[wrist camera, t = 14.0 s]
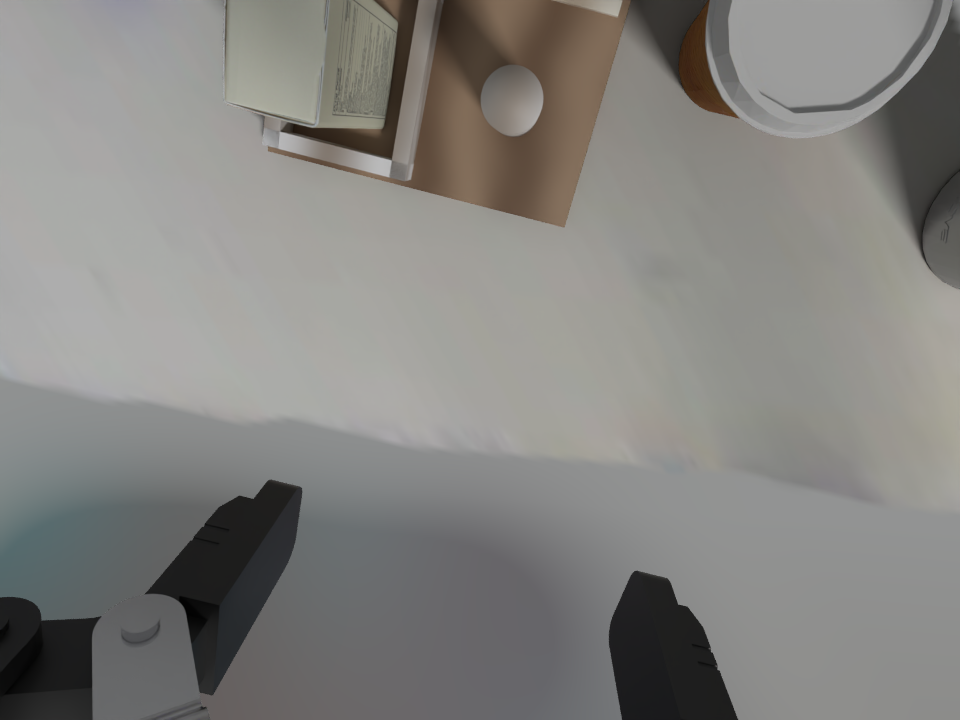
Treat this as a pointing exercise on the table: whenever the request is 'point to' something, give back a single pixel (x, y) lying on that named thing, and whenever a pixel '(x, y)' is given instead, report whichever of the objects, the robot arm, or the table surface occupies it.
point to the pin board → (461, 115)
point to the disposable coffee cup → (806, 59)
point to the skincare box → (310, 60)
